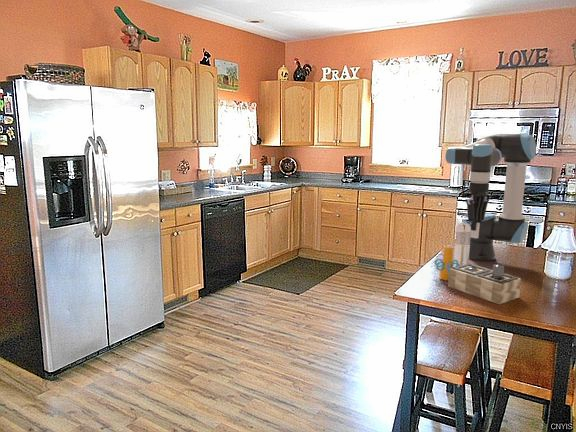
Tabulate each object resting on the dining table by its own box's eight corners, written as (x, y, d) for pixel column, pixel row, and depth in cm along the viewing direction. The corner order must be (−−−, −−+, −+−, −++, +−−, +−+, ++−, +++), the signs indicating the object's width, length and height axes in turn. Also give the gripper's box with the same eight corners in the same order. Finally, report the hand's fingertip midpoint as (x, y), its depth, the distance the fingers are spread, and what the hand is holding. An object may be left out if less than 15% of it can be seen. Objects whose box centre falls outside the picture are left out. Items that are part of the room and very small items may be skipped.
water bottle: (463, 272, 216) (467, 221, 211) (450, 269, 221) (454, 219, 216) (470, 269, 220) (475, 219, 215) (457, 266, 225) (461, 217, 220)
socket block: (467, 280, 205) (469, 262, 203) (519, 297, 185) (521, 277, 183) (447, 286, 197) (449, 267, 196) (499, 304, 178) (501, 283, 176)
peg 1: (468, 283, 199) (470, 266, 197) (476, 286, 195) (478, 268, 194) (463, 285, 196) (464, 267, 195) (471, 288, 193) (472, 270, 192)
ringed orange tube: (460, 283, 200) (463, 251, 197) (435, 282, 202) (438, 249, 199) (456, 275, 212) (458, 244, 209) (432, 273, 214) (435, 242, 211)
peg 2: (495, 282, 188) (496, 263, 186) (504, 285, 185) (506, 266, 183) (489, 283, 186) (491, 265, 184) (498, 286, 182) (500, 267, 181)
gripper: (480, 180, 194) (476, 233, 198) (461, 182, 187) (457, 237, 191) (497, 182, 187) (491, 237, 192) (477, 184, 180) (472, 241, 185)
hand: (474, 237), depth 192 cm, fingers closed
